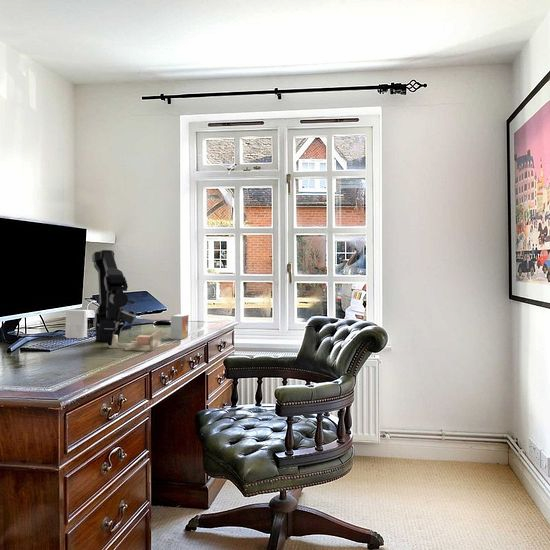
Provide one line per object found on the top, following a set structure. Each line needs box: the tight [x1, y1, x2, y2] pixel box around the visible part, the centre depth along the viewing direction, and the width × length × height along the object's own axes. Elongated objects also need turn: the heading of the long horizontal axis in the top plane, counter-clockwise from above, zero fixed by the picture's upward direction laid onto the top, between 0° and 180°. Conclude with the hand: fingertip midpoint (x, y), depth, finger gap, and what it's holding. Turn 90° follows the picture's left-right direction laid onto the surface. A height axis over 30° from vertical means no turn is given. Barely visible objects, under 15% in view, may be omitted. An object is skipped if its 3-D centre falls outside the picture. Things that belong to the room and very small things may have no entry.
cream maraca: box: [108, 334, 151, 349], centre depth 204 cm, size 16×5×5 cm, turn 92°
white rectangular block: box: [64, 309, 88, 339], centre depth 226 cm, size 9×9×12 cm
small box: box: [170, 313, 190, 340], centre depth 233 cm, size 8×6×10 cm
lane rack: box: [124, 329, 162, 352], centre depth 208 cm, size 11×17×6 cm, turn 2°
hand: (113, 343), depth 204 cm, fingers open, 9 cm apart
